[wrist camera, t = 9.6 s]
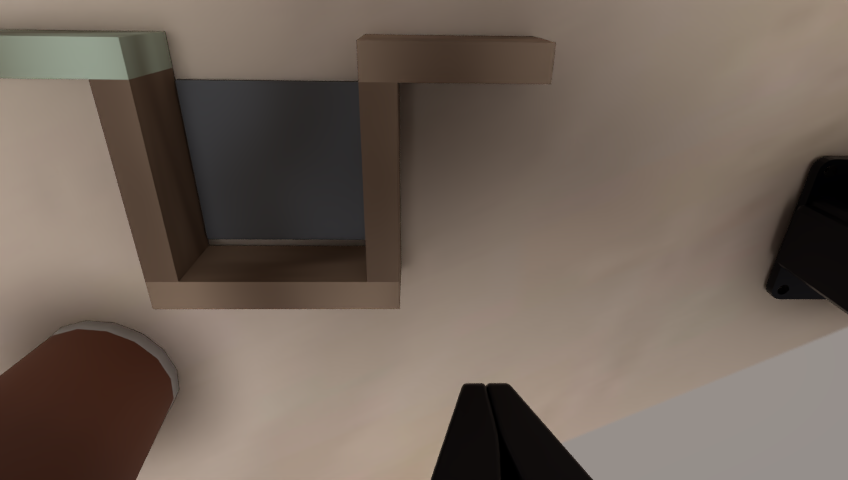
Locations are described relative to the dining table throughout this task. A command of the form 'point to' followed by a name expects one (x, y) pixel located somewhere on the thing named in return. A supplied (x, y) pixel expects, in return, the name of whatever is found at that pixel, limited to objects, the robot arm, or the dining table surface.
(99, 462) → the coffee cup
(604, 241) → the dining table surface
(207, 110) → the channel
